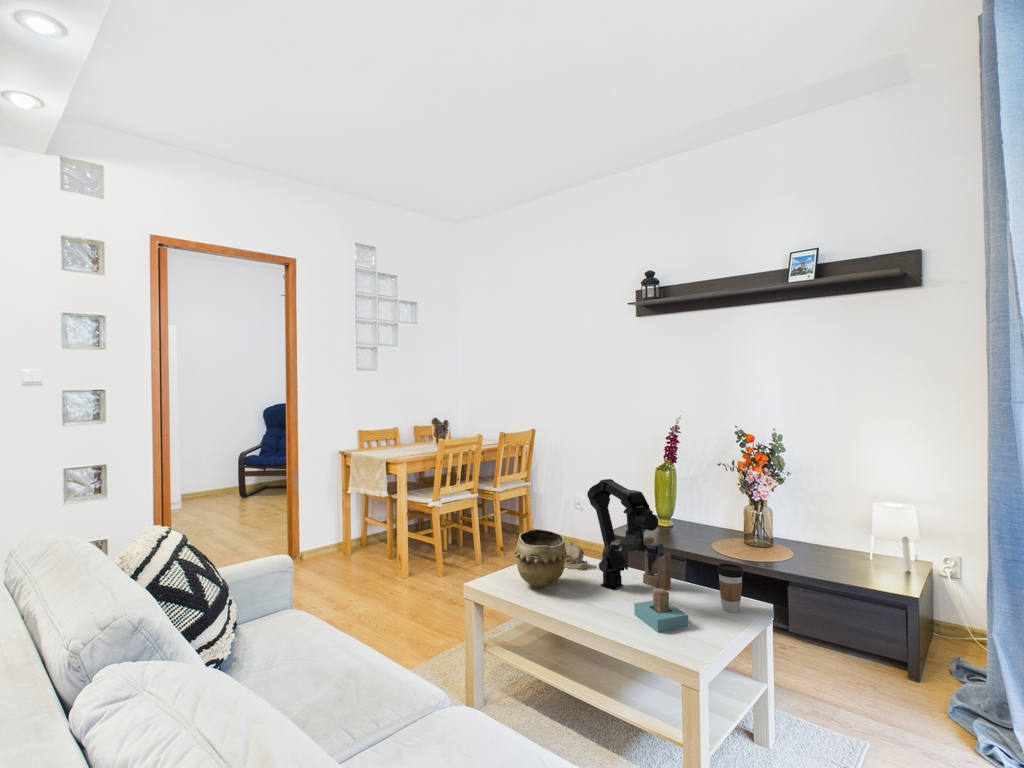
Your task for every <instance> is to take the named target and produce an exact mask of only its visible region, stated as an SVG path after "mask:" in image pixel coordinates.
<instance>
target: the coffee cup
mask: <svg viewBox="0 0 1024 768" xmlns="http://www.w3.org/2000/svg"><path fill="white" fill-rule="evenodd" d="M717 574H718V577H719V578H718V584H719V593H720V603H721V609H722V610H723V609H724V611H725V610H726V612H728V611H730V613H738V612H740V611H739V610H741V600H742V589H743V588H742V587H743V577H744V571H743V567H742V566H740V565H738V564H732V563H719V564H718V568H717Z"/></svg>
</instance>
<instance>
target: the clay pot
mask: <svg viewBox="0 0 1024 768" xmlns="http://www.w3.org/2000/svg"><path fill="white" fill-rule="evenodd" d="M565 544H566V543H565V539H564V536H563V535H562V534H560V533H558V532H554V531H552V530H551V531H550V530H546V529H542V528H538V529H535V528H533V529H530V530H527V531H525V532H521V533H519V536H518V539H517V544H516V548H515V551H514V552H513V553H514V555H515V558H516V559H517V562H516V565H517V570H518V573H519V575H520V577H521V578H522V580H523V581H524V582H526V583H527V584H529V585H530V586H534V587H537V588H544V587H545V588H546V587H549V586H551V585H553V584H555V582H557V581H558V580H559V579H560V578H561V576H562V575H563V572H564V570H565V568H564V558H565V557H566V556H565V555H566V554H567V552H566V550H565V549H566V548H565Z"/></svg>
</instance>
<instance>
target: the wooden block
mask: <svg viewBox="0 0 1024 768" xmlns="http://www.w3.org/2000/svg"><path fill="white" fill-rule="evenodd" d="M644 540H646V544H645V545H649V544H651V543H655V538H654V537H653V536H646V537H645V536H644ZM647 554H648V552H647V550H644V573H643V574H642V583H644V584H646V585H650V586H653V587H655V588H657V589H660V588H662V589H664V590H665V591H667V590H670V589H671V588H672V573H671V572H672V571H671V569H672V555H671V554H672V553H671V551H669V552H666V553H664V554H663V555H662V556H660V558H658V559H656V560H655V563H654V566H653V569H652V572H651V573H649V569H648V557H647ZM655 570H658V571H657V572H658V573H657V574H656V573H655Z"/></svg>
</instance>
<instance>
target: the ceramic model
mask: <svg viewBox="0 0 1024 768" xmlns="http://www.w3.org/2000/svg"><path fill="white" fill-rule="evenodd" d="M565 548H566V549H565V550H566V552H567V554H566V555H565V556H566V557H565V558H564V569H565V568H568V569H567V570H573V569H578V570H577V571H581V569H583V570H585V569H587V568H588V561H587V560H584V554H585V553H584V550H583V548H581V547H580V546H579V545H577V544H574V542H571V541H570V542H569V543H565ZM579 569H580V570H579Z"/></svg>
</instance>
